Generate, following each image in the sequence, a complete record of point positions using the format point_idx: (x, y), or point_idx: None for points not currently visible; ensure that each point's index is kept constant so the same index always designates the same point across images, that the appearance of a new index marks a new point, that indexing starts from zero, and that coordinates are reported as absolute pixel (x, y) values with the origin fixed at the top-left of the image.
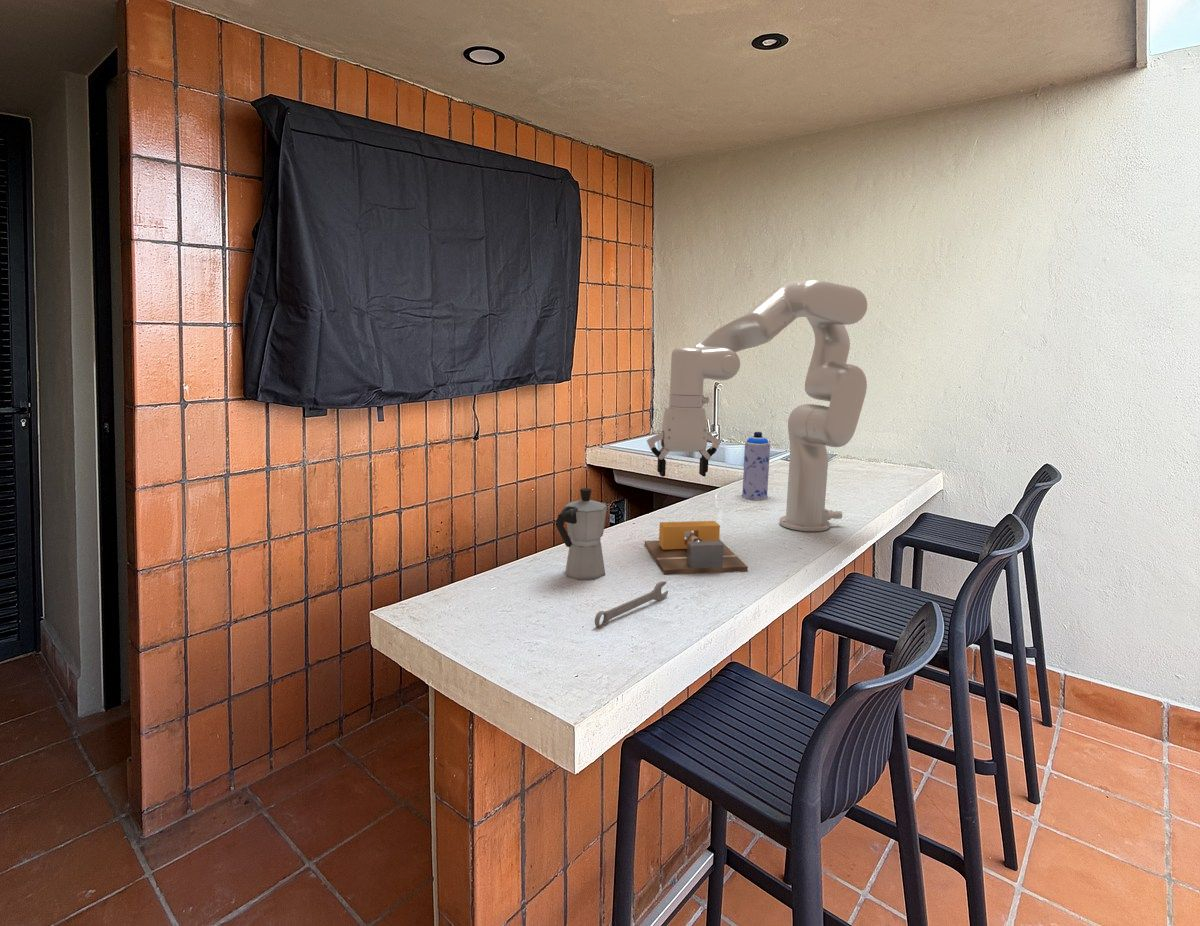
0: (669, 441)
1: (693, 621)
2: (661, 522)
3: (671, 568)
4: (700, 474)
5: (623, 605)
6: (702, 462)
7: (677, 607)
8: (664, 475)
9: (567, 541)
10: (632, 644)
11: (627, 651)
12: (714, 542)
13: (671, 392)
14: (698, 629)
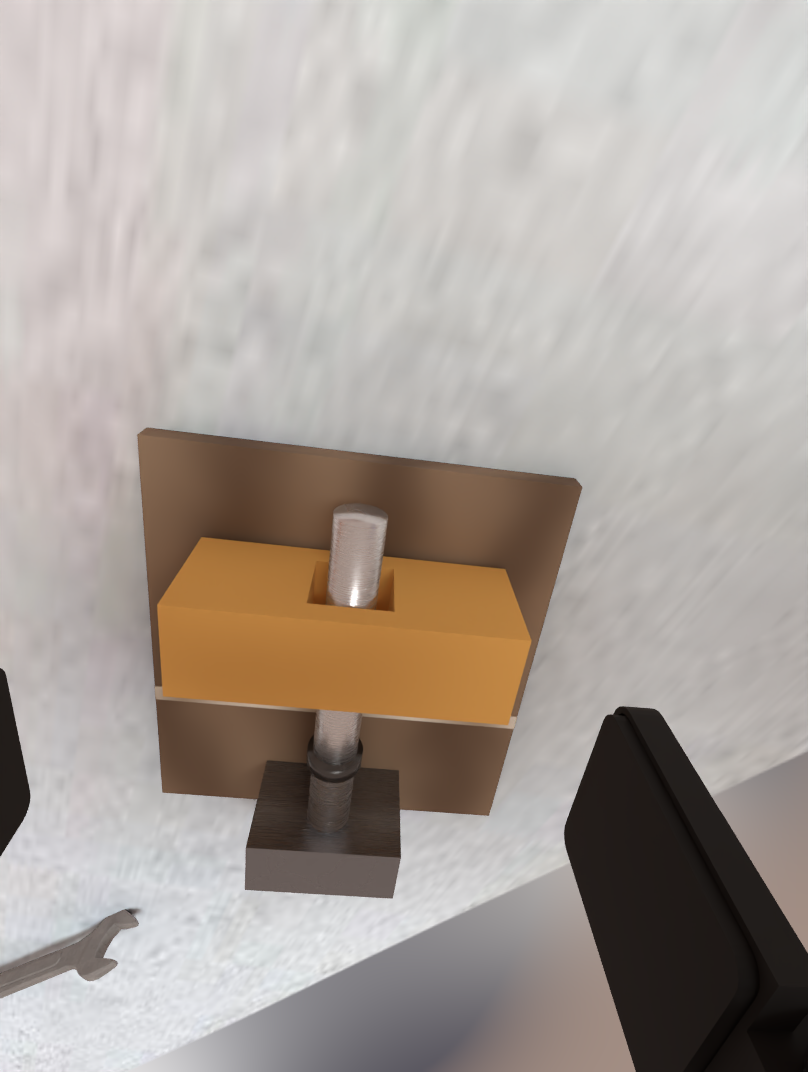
0: None
1: (179, 1005)
2: (169, 610)
3: (194, 785)
4: (587, 764)
5: None
6: (645, 1023)
7: (157, 953)
8: (12, 819)
9: None
10: (20, 1051)
11: (8, 1065)
12: (367, 873)
13: None
14: (180, 1028)
